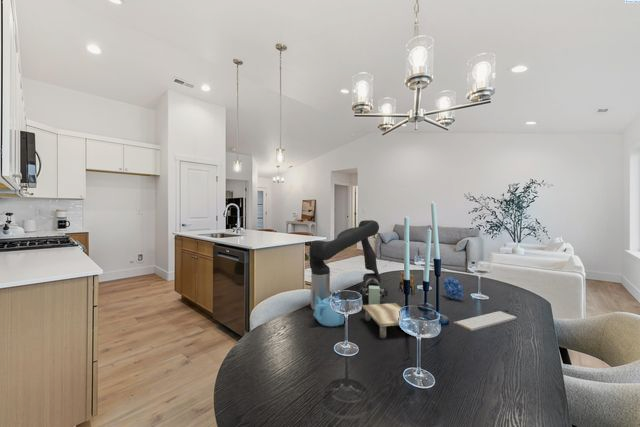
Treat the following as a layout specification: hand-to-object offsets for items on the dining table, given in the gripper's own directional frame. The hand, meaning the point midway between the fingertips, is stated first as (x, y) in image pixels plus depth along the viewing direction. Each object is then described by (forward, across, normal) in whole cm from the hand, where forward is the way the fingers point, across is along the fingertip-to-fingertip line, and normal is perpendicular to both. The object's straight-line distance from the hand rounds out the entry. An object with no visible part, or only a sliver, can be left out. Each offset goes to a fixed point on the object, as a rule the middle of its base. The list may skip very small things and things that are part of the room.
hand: (373, 295), depth 132 cm
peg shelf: (+19, +6, +7) cm, 21 cm away
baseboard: (+5, +48, +7) cm, 49 cm away
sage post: (+4, 0, +7) cm, 8 cm away
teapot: (+17, -19, +7) cm, 26 cm away
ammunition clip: (-31, +20, +7) cm, 38 cm away
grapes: (-22, +43, +7) cm, 49 cm away
